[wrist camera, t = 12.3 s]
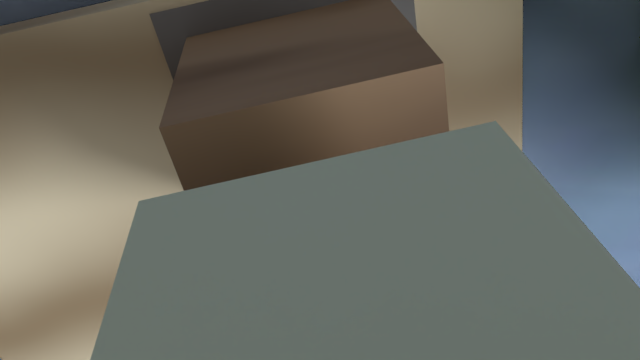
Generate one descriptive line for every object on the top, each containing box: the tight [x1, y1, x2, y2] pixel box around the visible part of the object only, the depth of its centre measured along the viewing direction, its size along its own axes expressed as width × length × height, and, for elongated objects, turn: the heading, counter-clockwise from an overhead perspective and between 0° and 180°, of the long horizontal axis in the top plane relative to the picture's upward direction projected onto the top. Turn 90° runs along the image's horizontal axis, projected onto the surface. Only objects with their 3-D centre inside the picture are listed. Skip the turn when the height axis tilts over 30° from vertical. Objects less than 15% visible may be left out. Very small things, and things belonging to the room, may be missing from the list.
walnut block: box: [159, 0, 449, 191], centre depth 13 cm, size 5×5×5 cm
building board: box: [0, 0, 523, 360], centre depth 19 cm, size 19×18×1 cm
